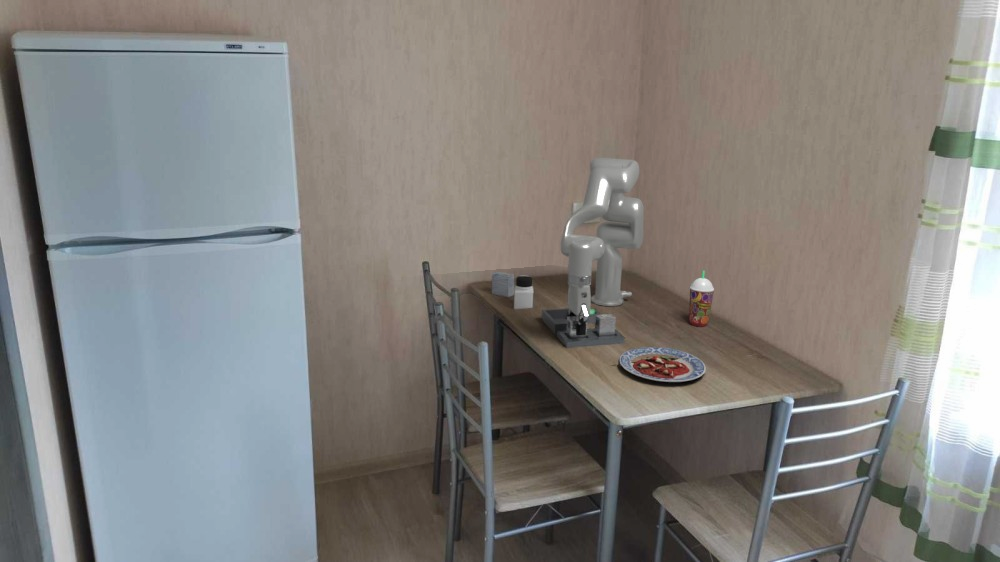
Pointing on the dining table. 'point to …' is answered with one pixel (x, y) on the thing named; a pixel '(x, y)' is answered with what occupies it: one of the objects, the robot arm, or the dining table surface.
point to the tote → (556, 319)
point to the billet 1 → (573, 328)
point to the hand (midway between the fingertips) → (576, 330)
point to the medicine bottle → (523, 292)
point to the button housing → (592, 316)
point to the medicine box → (503, 284)
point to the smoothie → (700, 301)
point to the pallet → (590, 339)
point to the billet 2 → (605, 325)
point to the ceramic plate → (663, 365)
